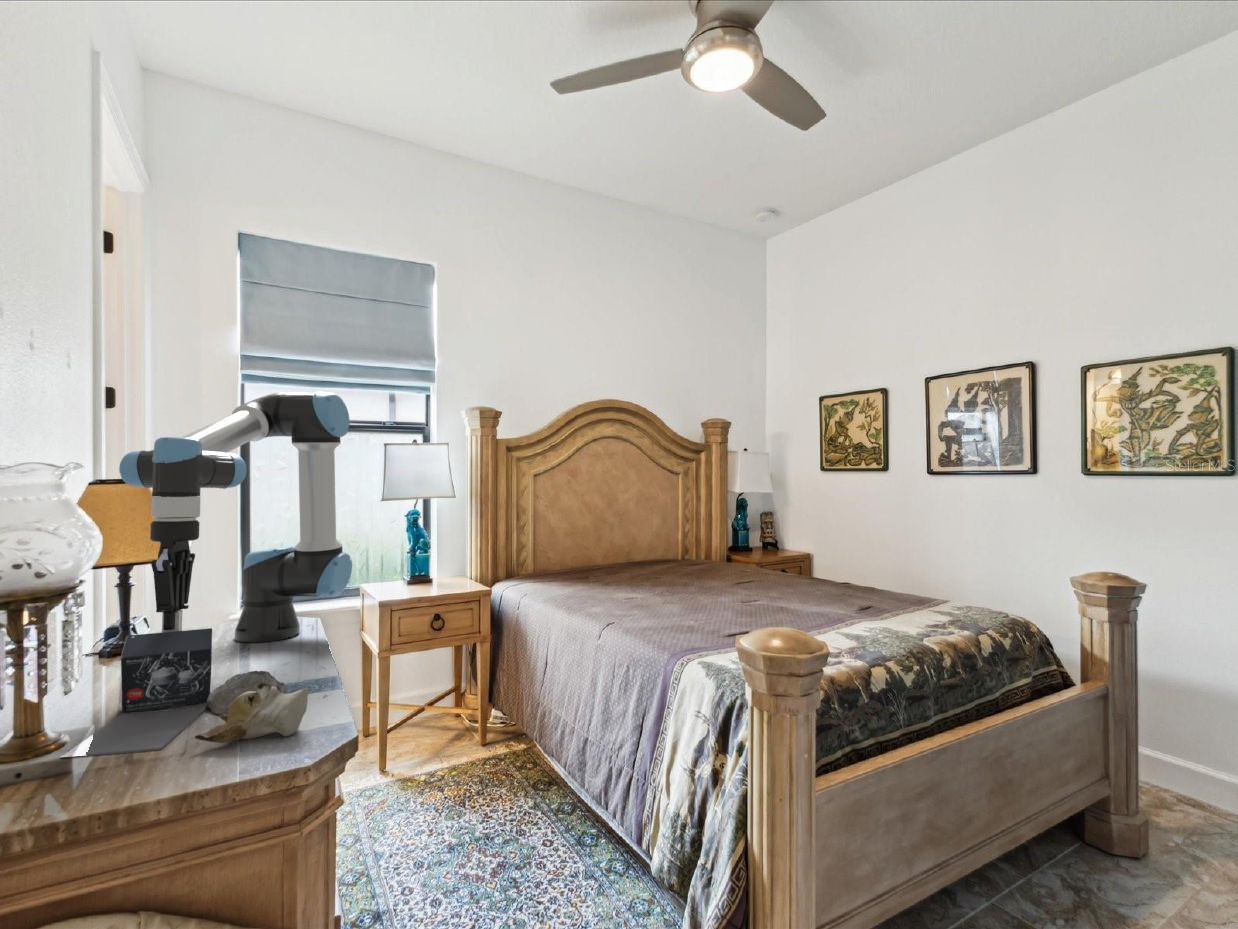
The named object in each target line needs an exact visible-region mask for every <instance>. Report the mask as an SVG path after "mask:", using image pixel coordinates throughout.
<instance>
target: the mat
mask: <svg viewBox="0 0 1238 929" xmlns="http://www.w3.org/2000/svg"><path fill="white" fill-rule="evenodd" d="M207 709H208V706H203V707H191V708H190V707H188V708H176V709H174V708H173V709H163V710H162V709H161V710H147V711H140V712H133V713H122V712H121V714H119V715H118V716H116V717H115V718H114V719H113V720H111V721H109V722H108V723H107V724H105V725H104V726H102V727H101V728H100V729H98V730H97V731H94V733H92V734H93V740H92V742H91V744H90V747H89V750H88V752H86V755H87V756H86V757H94V756H107V755H116V754H117V755H118V754H127V753H139V752H150V751H151V752H153V751H161V750H163V749H164V748H165V747H166V746H168V744H170V743H171V742H172V741H173V740H174V739H176V737H177V736H179V735H180V734H181V733H182V732H183V731H184V730H185V729H186V728H188V726H190V725H191V724H192V723H193V722H194V721H195V720H196V719H197V718H198V717H200V716H201V715H202V714H203V713H204V712H205V711H206V710H207Z"/></svg>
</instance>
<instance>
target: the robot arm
mask: <svg viewBox="0 0 1238 929" xmlns="http://www.w3.org/2000/svg"><path fill="white" fill-rule="evenodd" d="M350 424H351V423H350V414H349V410H348V407H347V405H346V403H345V402H344V400H343V398H341V396H339V394H336V393H334V392H328V391H327V392H325V391H305V392H301V391H299V392H298V391H296V392H295V391H294V392H293V391H292V392H290V391H289V392H287V391H285V392H284V391H282V392H281V391H280V392H274V393H271V394H267V395H263V396H261V397H258V398H255V399H253V400H251V401H248V402H246V403H244V404H242V405H239V406H237V407H235V408H234V409H233V411H232V413H231V414H229V415H227V416H225V417H222V418H221V419H218V420H216V421H214V422H212V423H210V424H208V425H206V426H202V427H201V428H199V429H197V430H194V431H192V432H190V433H188V434H186V435H183V436H180V437H179V436H178V437H176V436H173V437H171V436H163V437H159V438H157V439H156V440H155V441H154V443H153V444H154V445H153V449H152V450H139V451H138V450H137V451H136V450H135V451H130V452H128V453H126V454H125V455H124V456H123V457H122V459H121V460H120V462H119V470H118V472H119V474H120V477H121V479H122V481H123V482H124V483H125V484H126V485H127V486H130V487H134V488H144V489H151V488H152V489H151V490H152V492H151V501H150V502H148V503H149V504H148V505H149V507H151V513H150V514H151V516H150V517H151V518H152V519H154V521H152V522H151V523H150V532H149V533H150V534H149V535H150V537H149V539H150V541H152V542H157V543H158V542H159V544H160V545H159V550H158V554H157V559H152V560H151V563H150V566H151V569H152V572H153V581H154V594H155V605H156V606H155V607H156V608H155V611H156V613H161V614H162V615H161V616H162V620H161V622H162V623H161V633H163V632H174V631H183V610H188V609H189V606H190V605H189V604H188V603H189V598H190V592H191V591H190V590H191V588H190V587H191V581H192V573H193V567H194V566H193V565H194V562H195V559H196V554H195V553H194V552H191V550H190V542H191V541H192V542H193V541H196V540H199V537H200V523H201V522H199V520H198V519H197V518H199V517H200V516H201V489H224V490H225V489H228V488H229V489H231V488H234V487H237V486H239V485H240V484H242V483H243V481H244V480H245V478H246V476H247V464H246V462H245V460H244V459H243V458H242V457H241V456H240V455H239V454H238V453H237V454H236V453H233V452H232V451H233V450H235V449H238V448H239V447H241V446H242V445H245V444H246V443H248V442H258V441H261V440H264V439H266V438H272V437H273V438H274V437H290V438H291V445H293V446H294V447H295V448H296V449H297V450H298V451H297V452H298V454H297V455H298V458H297V459H298V492H299V493H298V494H299V495H298V496H299V497H298V498H299V501H298V502H299V506H298V507H299V542H298V543H297V544H296V545H295V546H285V547H278V548H277V547H275V548H269V549H262V550H257V551H256V550H255V551H250V552H248V553H247V554H246V555H245V557H244V564H243V596H242V598H243V599H242V600H243V601H242V602H243V605H242V607H243V608H242V611H241V613H240V617H239V619H238V621H237V624H236V627H235V629H234V641H237V642H239V643H240V642H241V643H265V642H273V641H274V640H275V641H280V640H285V638H286V639H289V638H288V637H290V638H293V637H296V636H297V635H296V634H298V633H299V632H300V631H301V629H300V628H301V626H300V621H299V619H298V616H297V613H296V609H295V606H294V598H297V597H299V598H318V599H323V598H334V597H337V596H339V595H341V594H342V593H343V592H344V591H345V589H346V588H347V585H348V584H349V582H350V580H351V575H352V571H353V561H352V559H351V556H350V554H348V553H347V552H343V544H342V543H341V542H340V541H339V540H338V539H337V523H336V522H337V520H336V518H337V517H336V514H337V512H336V468H335V467H336V466H335V465H336V464H335V463H336V461H335V450H336V449H337V447H338V446H340V445H341V438H342V437H345V436H346V435H347V434H348V432H349V428H350ZM189 541H190V542H189ZM300 633H301V632H300ZM300 633H299V634H300ZM299 634H298V635H299ZM295 635H296V636H295Z"/></svg>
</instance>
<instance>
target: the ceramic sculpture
mask: <svg viewBox="0 0 1238 929" xmlns="http://www.w3.org/2000/svg"><path fill="white" fill-rule="evenodd" d="M308 700H309V688H308V687H305V688H302V689H299V690H297V691H294V692H289V693H284V694H283V693H280V692H279V691H278V689H277V688H276V687H275V686H272V685H271V684H265V683H260V684H259V685H258V688H257V690H255V691H247V692H245V693H243V694H241V695H240V696H238V697H237V698H236V699H235V700H234V701H233V702H232V703H231V705H230V706H229V709H228V713H227V714H222V715H219V718H220V719H221V720H222V721H224V722H225V723H224V722H223V723H222V724H220V725H217V726H214V727H213V728H211V729H210V730H208V731H207V732H204V733H201V734H197V735H195V736H194V739H196V740H198V741H203V742H209V743H215V744H218V743H219V744H225V743H230V742H233V741H236V740H238V739H242V740H248V739H251V740H252V739H257V738H261V737H264V736H266V735H269V734H272V733H273V734H274V733H279V734H281V735H282V736H283V737H290V736H292V735H294V734H296V732H297V731H298V730H299V728H300V726H301V722H302V720H303V717H304V715H305V714H306V712H307V707H308Z"/></svg>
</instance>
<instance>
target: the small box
mask: <svg viewBox="0 0 1238 929" xmlns="http://www.w3.org/2000/svg"><path fill="white" fill-rule="evenodd" d="M212 648H213V628H212V627H211V628H210V627H209V628H199V629H189V630H182V631H174V632H163V633H162V632H153V633H152V632H151V633H144V634H129V635H126V637H125V640H124V644H123V648H122V650H121V654H120V674H121V714H122V713H133V712H146V711H155V710H159V709H161V710H162V709H167V708H173V707H181V706H187V705H194V704H202V703H207V699H208V696H209V694H210V693H211V687H212V686H211V683H212V682H211V681H212V662H213V660H212V658H213V656H212V654H213V649H212Z"/></svg>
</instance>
